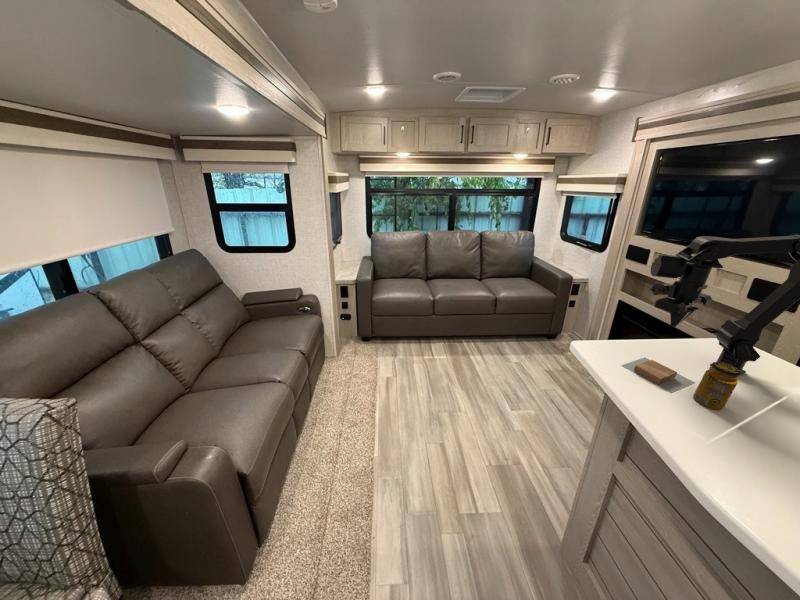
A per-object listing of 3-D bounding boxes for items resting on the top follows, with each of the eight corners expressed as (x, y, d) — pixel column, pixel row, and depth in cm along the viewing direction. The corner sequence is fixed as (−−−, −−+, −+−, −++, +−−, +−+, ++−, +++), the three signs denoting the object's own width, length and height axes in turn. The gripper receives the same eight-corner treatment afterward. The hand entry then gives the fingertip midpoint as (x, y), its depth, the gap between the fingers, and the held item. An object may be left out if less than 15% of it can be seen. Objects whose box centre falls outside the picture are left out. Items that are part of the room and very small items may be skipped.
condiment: (728, 406, 81) (749, 369, 77) (718, 420, 77) (740, 381, 72) (693, 391, 87) (710, 355, 82) (682, 402, 83) (700, 365, 78)
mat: (644, 358, 102) (644, 357, 102) (694, 383, 90) (695, 382, 90) (620, 366, 97) (620, 365, 97) (670, 394, 85) (671, 393, 85)
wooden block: (651, 359, 96) (635, 365, 93) (677, 372, 90) (661, 378, 88) (649, 365, 97) (633, 371, 94) (674, 378, 91) (658, 385, 88)
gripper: (679, 268, 101) (662, 311, 107) (644, 275, 94) (628, 320, 100) (722, 279, 92) (701, 325, 98) (687, 287, 85) (666, 336, 91)
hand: (673, 326), depth 97 cm, fingers closed
